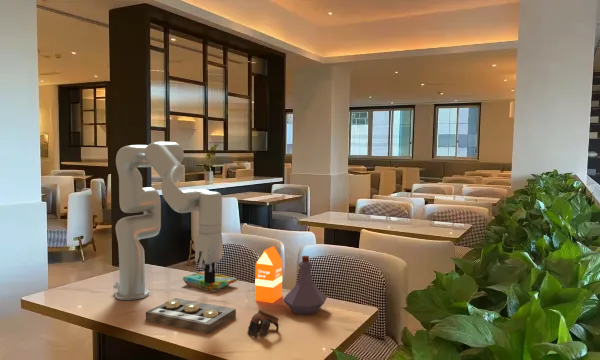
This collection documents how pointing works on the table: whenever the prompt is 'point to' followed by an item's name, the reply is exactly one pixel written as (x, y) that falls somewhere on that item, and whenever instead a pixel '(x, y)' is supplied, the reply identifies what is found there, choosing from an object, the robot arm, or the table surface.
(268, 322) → the brown goggles
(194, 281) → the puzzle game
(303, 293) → the flask
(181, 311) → the button board
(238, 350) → the table surface
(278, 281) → the orange juice
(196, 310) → the button middle
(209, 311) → the button
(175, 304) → the button
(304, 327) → the table surface
